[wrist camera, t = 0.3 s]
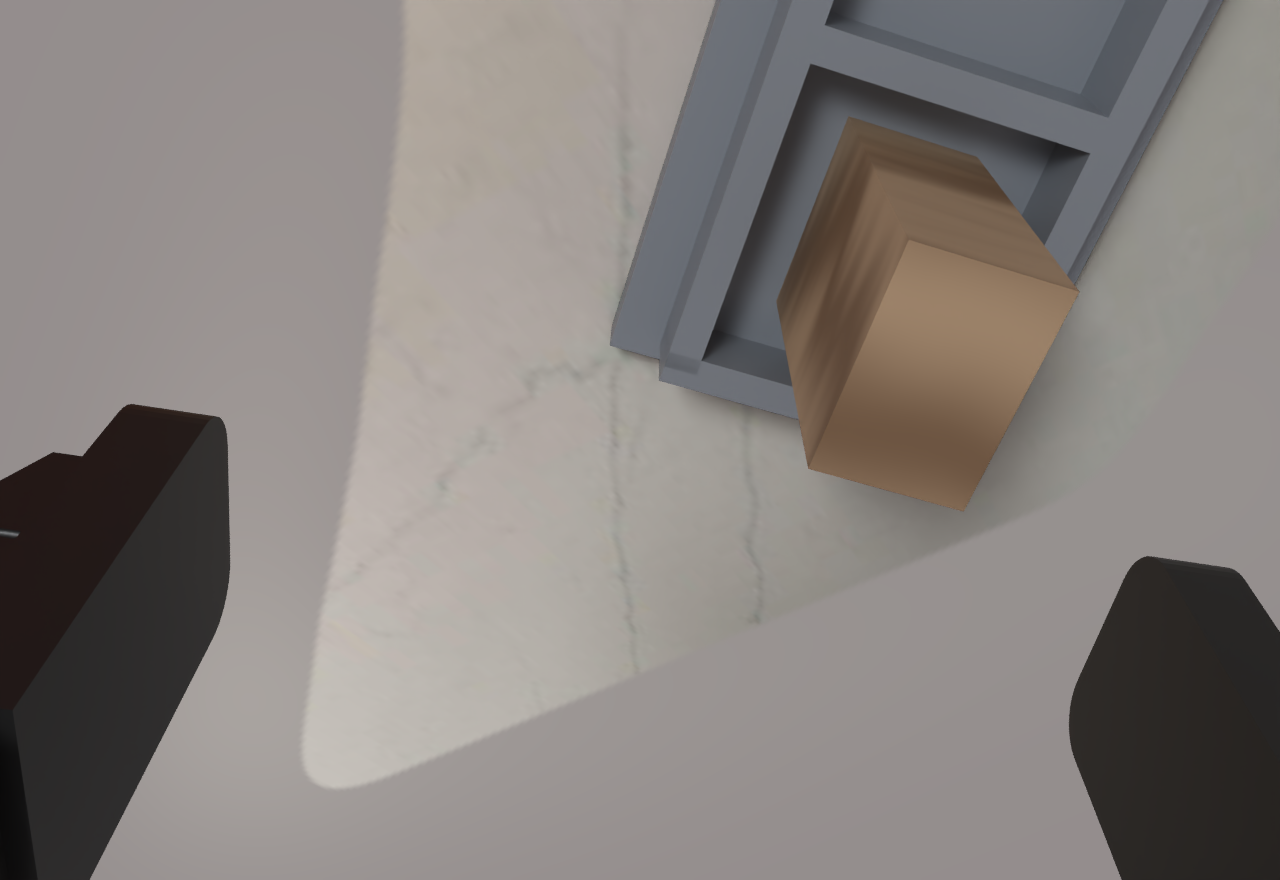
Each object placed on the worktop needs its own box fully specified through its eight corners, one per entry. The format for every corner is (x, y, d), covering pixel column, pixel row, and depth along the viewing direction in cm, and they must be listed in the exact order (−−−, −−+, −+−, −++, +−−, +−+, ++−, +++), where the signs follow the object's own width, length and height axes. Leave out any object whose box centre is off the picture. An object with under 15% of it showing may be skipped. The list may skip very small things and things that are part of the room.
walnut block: (848, 116, 34) (908, 240, 26) (977, 157, 35) (1079, 291, 26) (776, 301, 37) (808, 468, 28) (896, 336, 38) (963, 511, 29)
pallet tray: (867, -475, 29) (895, -506, 25) (1346, -291, 30) (1433, -297, 27) (611, 325, 39) (606, 381, 36) (976, 430, 41) (1005, 492, 37)
